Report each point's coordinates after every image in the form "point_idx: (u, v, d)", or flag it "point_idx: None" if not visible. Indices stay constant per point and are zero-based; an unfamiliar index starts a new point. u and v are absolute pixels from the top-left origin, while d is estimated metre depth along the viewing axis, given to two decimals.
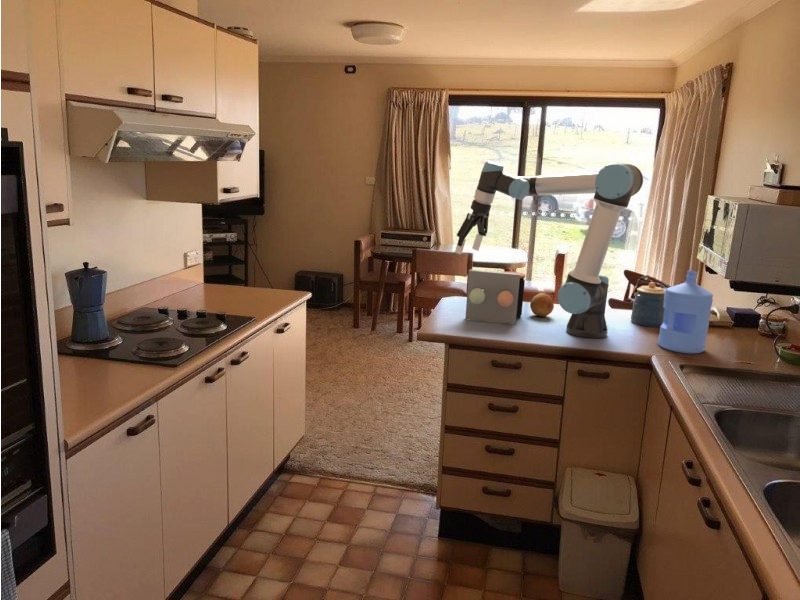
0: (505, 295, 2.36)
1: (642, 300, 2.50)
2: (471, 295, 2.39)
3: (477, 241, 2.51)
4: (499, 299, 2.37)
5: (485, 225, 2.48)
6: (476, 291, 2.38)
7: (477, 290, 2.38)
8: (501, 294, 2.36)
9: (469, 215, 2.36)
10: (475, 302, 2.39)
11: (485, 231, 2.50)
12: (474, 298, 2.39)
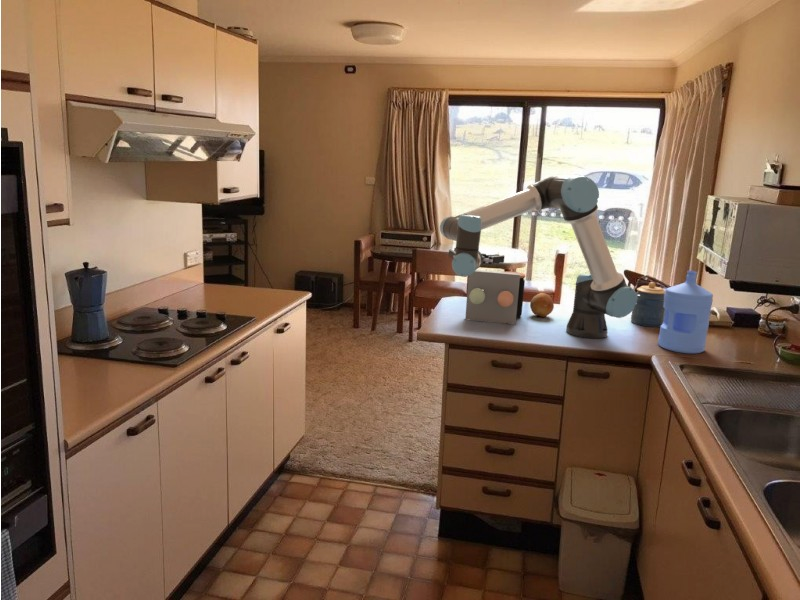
0: (505, 295, 2.36)
1: (642, 300, 2.50)
2: (471, 295, 2.39)
3: None
4: (499, 299, 2.37)
5: None
6: (476, 291, 2.38)
7: (477, 290, 2.38)
8: (501, 294, 2.36)
9: (492, 261, 2.12)
10: (475, 302, 2.39)
11: (452, 250, 2.23)
12: (474, 298, 2.39)
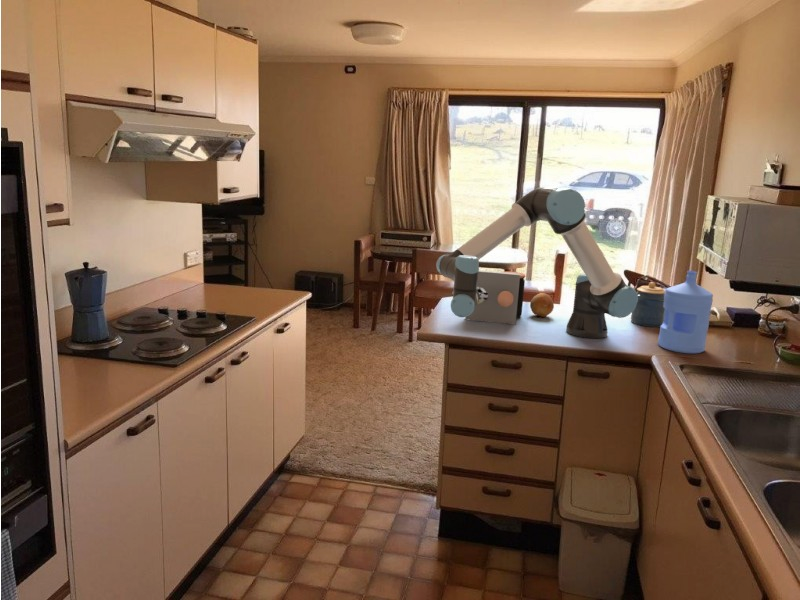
0: (505, 295, 2.36)
1: (642, 300, 2.50)
2: None
3: None
4: (499, 299, 2.37)
5: None
6: None
7: None
8: (501, 294, 2.36)
9: None
10: None
11: None
12: None
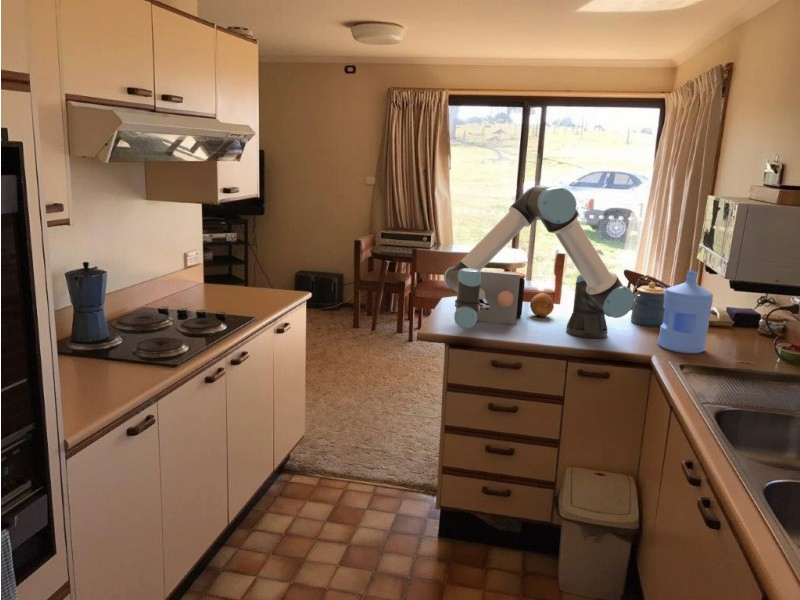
0: (505, 295, 2.36)
1: (642, 300, 2.50)
2: None
3: None
4: (499, 299, 2.37)
5: None
6: None
7: None
8: (501, 294, 2.36)
9: None
10: None
11: None
12: None
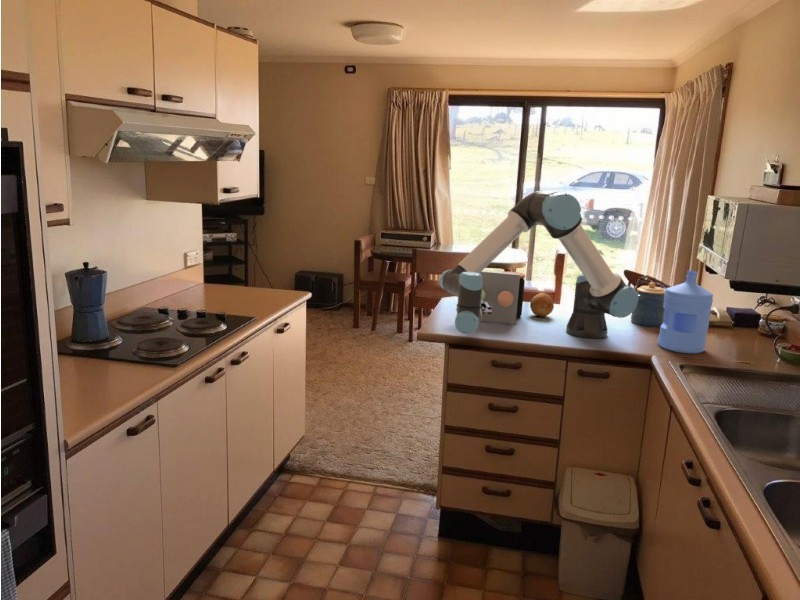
0: (505, 295, 2.36)
1: (642, 300, 2.50)
2: None
3: None
4: (499, 299, 2.37)
5: None
6: None
7: None
8: (501, 294, 2.36)
9: None
10: None
11: None
12: None
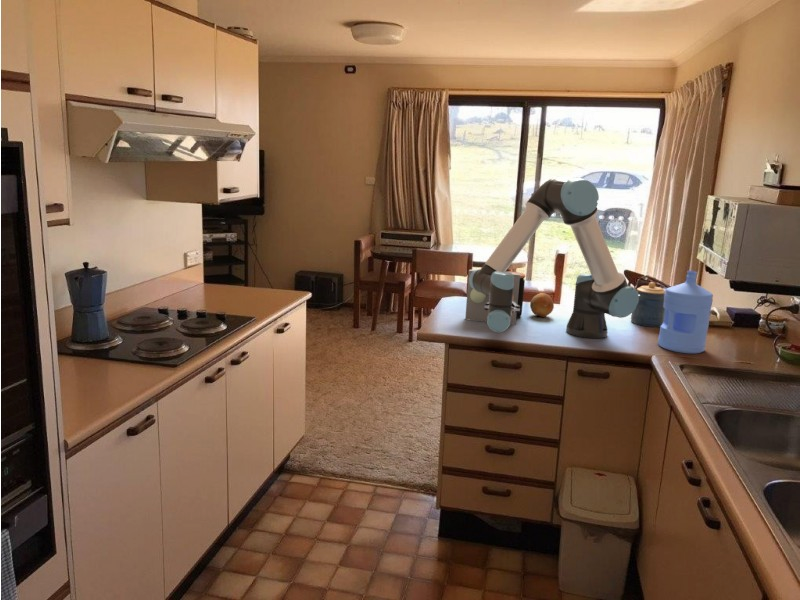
0: None
1: (642, 300, 2.50)
2: (471, 293, 2.42)
3: None
4: None
5: None
6: None
7: None
8: None
9: None
10: (475, 301, 2.42)
11: None
12: (475, 296, 2.42)
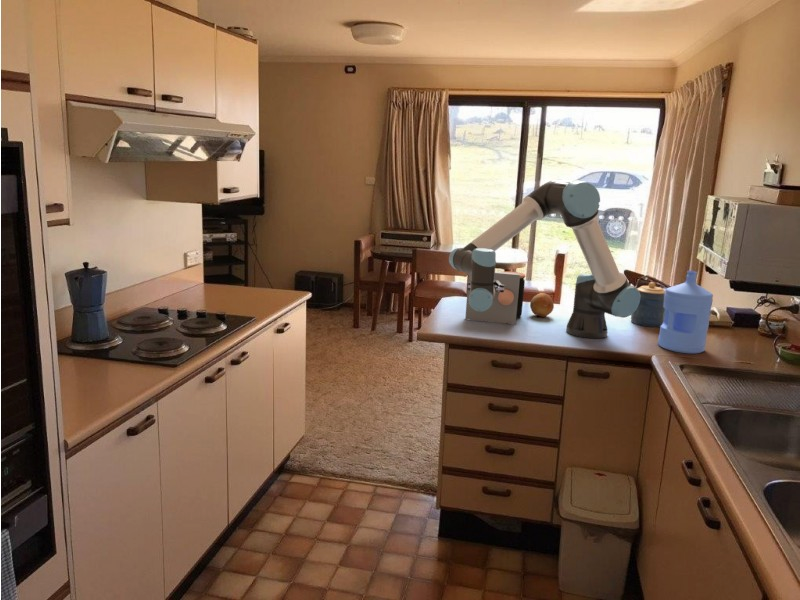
0: (505, 294, 2.39)
1: (642, 300, 2.50)
2: None
3: None
4: (500, 298, 2.40)
5: None
6: None
7: None
8: (501, 293, 2.39)
9: None
10: None
11: None
12: None
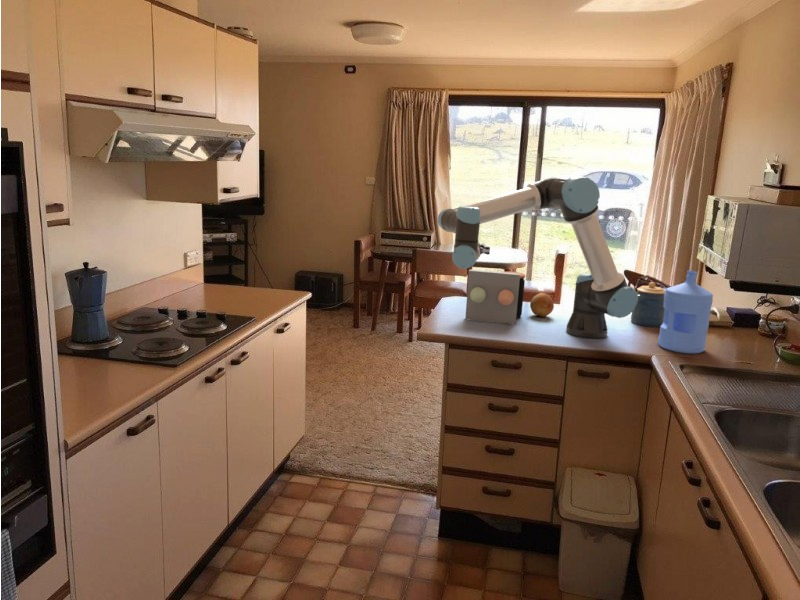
0: (505, 294, 2.39)
1: (642, 300, 2.50)
2: (471, 293, 2.42)
3: None
4: (500, 298, 2.40)
5: None
6: (477, 290, 2.41)
7: (478, 289, 2.41)
8: (501, 293, 2.39)
9: None
10: (475, 301, 2.42)
11: None
12: (475, 296, 2.42)
